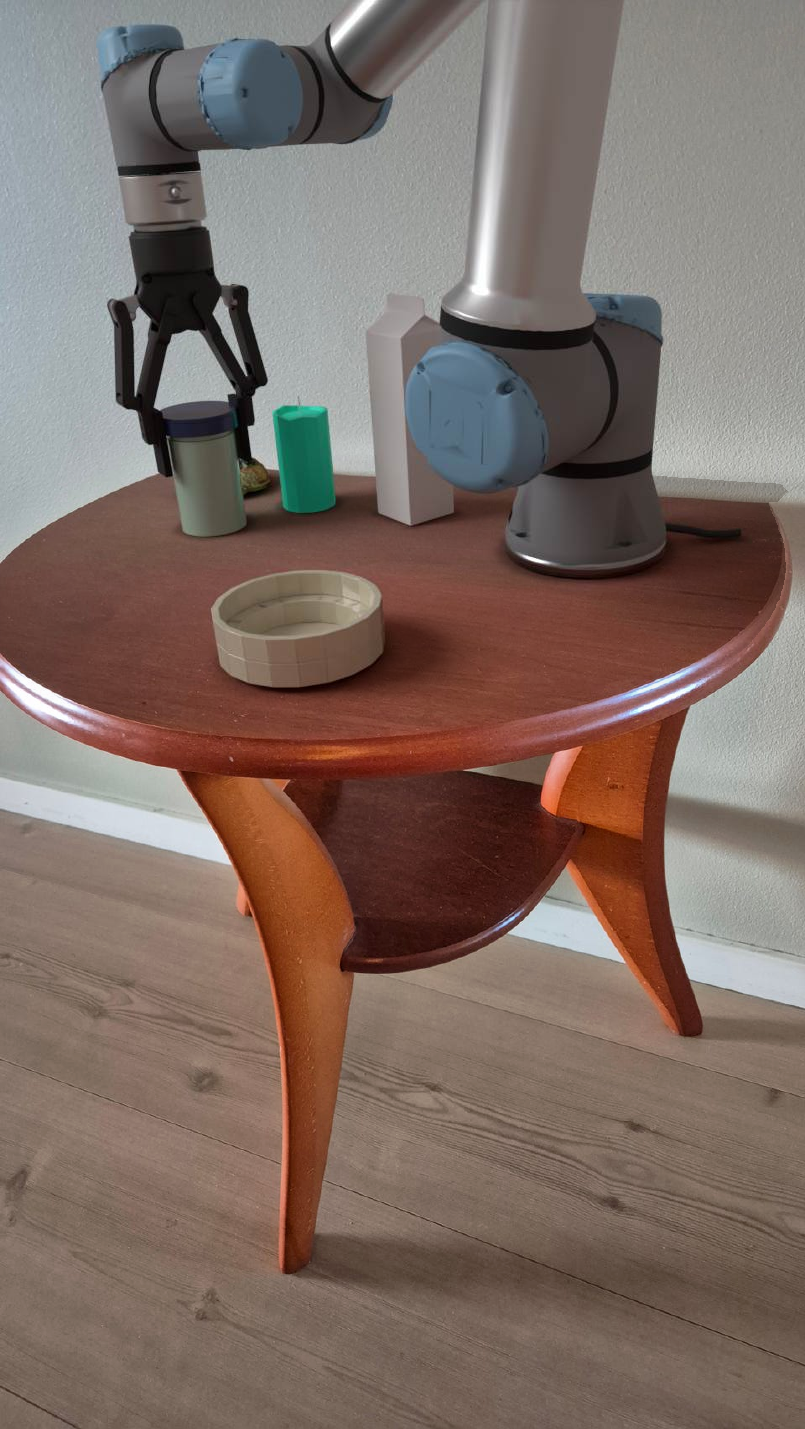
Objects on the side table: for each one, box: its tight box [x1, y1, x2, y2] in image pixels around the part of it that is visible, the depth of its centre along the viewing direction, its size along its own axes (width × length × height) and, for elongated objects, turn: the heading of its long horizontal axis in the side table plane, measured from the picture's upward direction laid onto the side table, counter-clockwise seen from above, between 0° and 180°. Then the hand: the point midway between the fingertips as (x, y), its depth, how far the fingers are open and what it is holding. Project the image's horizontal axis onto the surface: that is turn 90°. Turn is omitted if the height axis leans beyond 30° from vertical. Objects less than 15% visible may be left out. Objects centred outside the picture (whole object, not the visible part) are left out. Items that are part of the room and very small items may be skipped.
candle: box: [271, 395, 337, 514], centre depth 109 cm, size 6×6×12 cm
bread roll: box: [238, 457, 271, 496], centre depth 118 cm, size 11×11×5 cm
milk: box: [365, 293, 455, 527], centre depth 102 cm, size 6×6×22 cm
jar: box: [166, 429, 248, 538], centre depth 105 cm, size 7×7×12 cm
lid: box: [159, 400, 239, 438], centre depth 102 cm, size 8×8×2 cm
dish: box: [210, 569, 386, 688], centre depth 78 cm, size 13×13×4 cm
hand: (205, 465), depth 104 cm, fingers closed on lid, 8 cm apart
